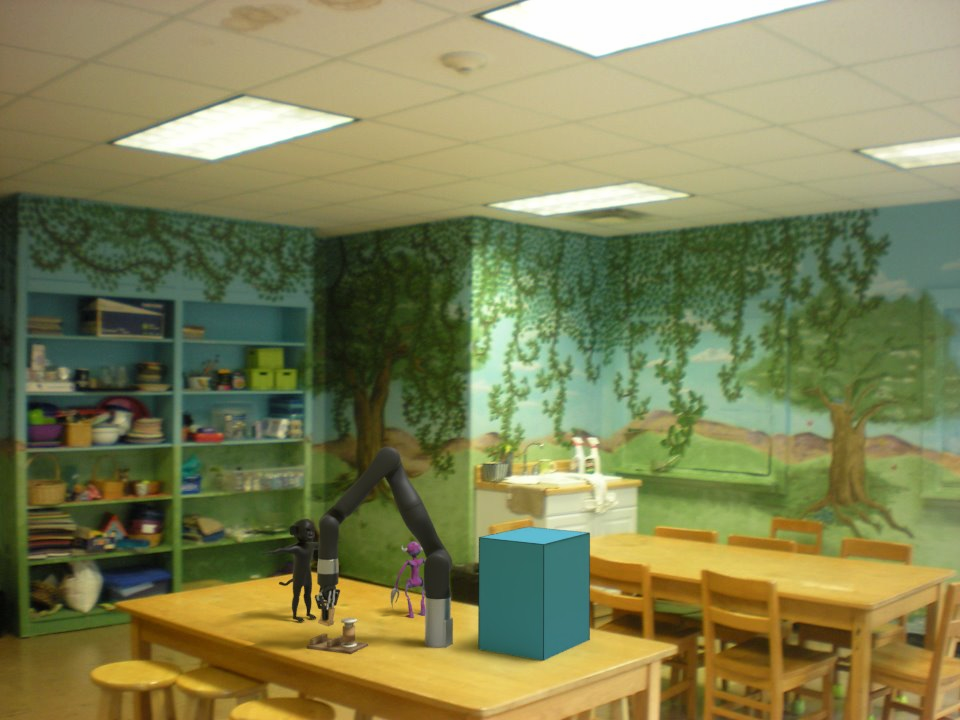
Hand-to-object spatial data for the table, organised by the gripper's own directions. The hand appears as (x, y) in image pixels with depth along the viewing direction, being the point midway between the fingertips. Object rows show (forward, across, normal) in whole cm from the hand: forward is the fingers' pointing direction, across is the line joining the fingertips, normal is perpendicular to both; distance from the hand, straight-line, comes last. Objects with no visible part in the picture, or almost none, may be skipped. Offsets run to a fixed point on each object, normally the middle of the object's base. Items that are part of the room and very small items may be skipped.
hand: (327, 619), depth 352 cm
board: (+10, 0, -5) cm, 11 cm away
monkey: (+10, +32, +36) cm, 49 cm away
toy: (+10, +55, -6) cm, 57 cm away
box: (+9, +32, -68) cm, 75 cm away
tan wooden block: (+2, 0, +1) cm, 2 cm away
